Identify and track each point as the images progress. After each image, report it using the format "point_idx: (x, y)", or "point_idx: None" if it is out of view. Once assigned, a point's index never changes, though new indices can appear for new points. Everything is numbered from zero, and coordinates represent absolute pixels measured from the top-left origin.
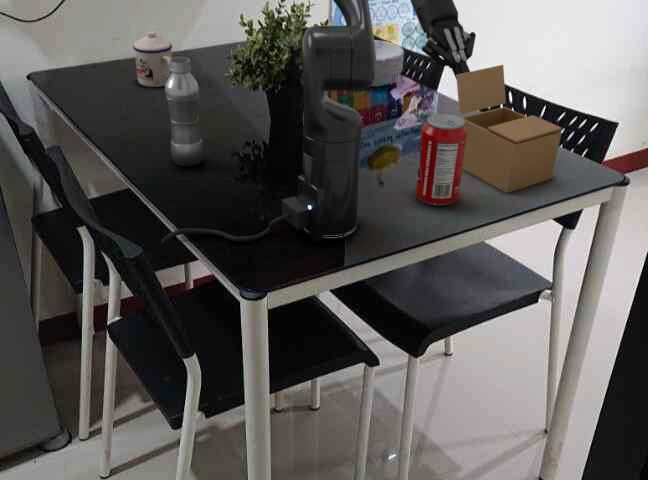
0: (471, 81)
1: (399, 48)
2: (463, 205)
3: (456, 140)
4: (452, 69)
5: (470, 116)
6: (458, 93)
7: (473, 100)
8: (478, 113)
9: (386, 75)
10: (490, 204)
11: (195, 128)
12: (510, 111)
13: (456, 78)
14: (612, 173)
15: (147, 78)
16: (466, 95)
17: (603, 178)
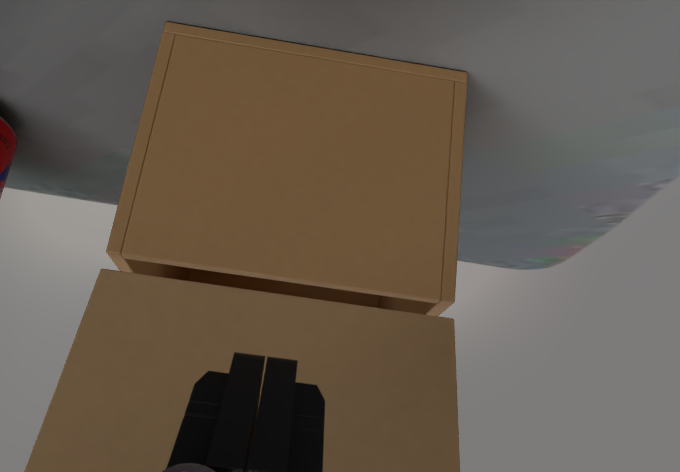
0: (160, 453)
1: None
2: (24, 150)
3: None
4: (167, 465)
5: (178, 265)
6: (60, 381)
7: (194, 341)
8: (247, 274)
9: None
10: (110, 178)
11: None
12: (426, 308)
13: (192, 396)
14: (557, 261)
15: None
16: (130, 369)
17: (507, 256)
